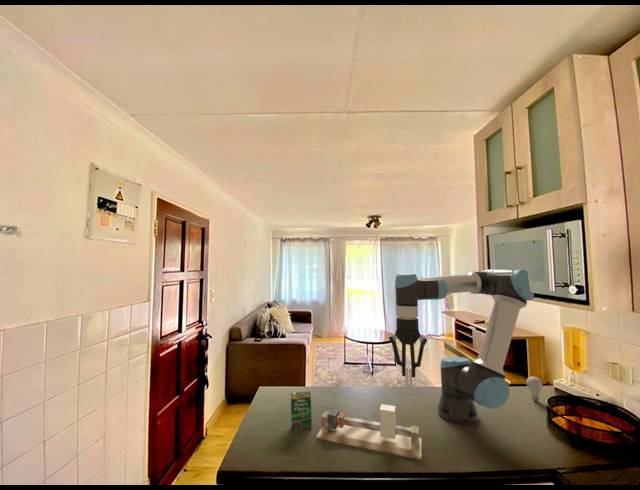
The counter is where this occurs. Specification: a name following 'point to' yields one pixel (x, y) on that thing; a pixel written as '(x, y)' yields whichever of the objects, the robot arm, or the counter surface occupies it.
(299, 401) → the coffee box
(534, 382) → the lightbulb
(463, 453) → the counter surface
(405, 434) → the stand
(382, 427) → the sleeve
